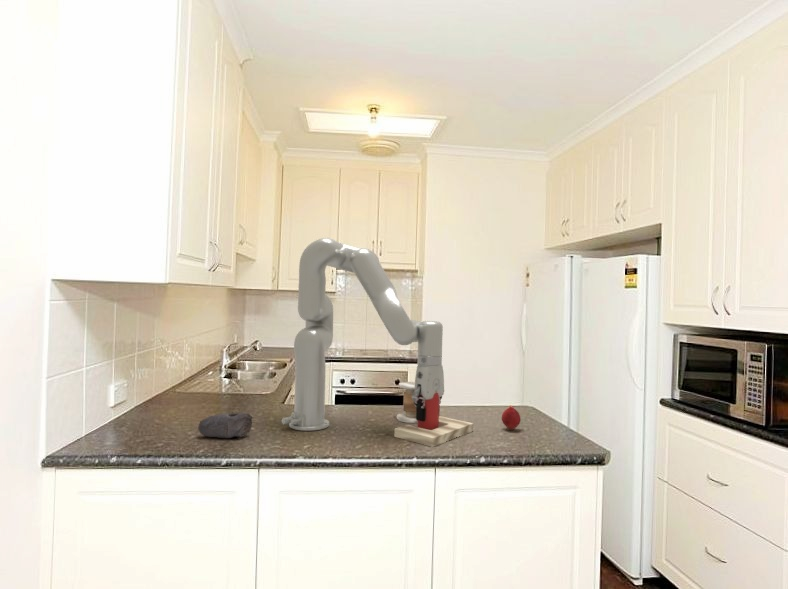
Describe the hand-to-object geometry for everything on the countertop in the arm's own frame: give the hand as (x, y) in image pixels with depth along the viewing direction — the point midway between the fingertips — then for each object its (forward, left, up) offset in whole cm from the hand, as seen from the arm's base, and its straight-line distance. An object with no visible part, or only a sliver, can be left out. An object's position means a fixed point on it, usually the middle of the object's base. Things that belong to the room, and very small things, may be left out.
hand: (427, 418), depth 150 cm
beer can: (0, 0, -3) cm, 3 cm away
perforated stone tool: (-46, +39, -5) cm, 61 cm away
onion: (+21, -18, -5) cm, 28 cm away
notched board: (0, -3, -4) cm, 5 cm away
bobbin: (+9, +13, -4) cm, 17 cm away
